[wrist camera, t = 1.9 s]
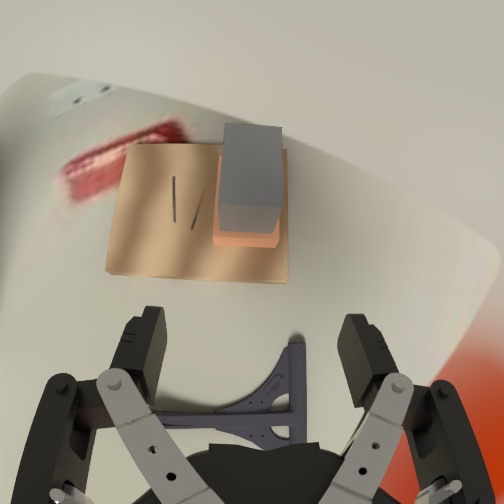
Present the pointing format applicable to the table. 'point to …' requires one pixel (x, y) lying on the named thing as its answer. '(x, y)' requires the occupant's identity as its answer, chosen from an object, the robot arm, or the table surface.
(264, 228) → the block
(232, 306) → the table surface
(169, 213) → the oak board
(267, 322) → the table surface
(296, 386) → the bracket
